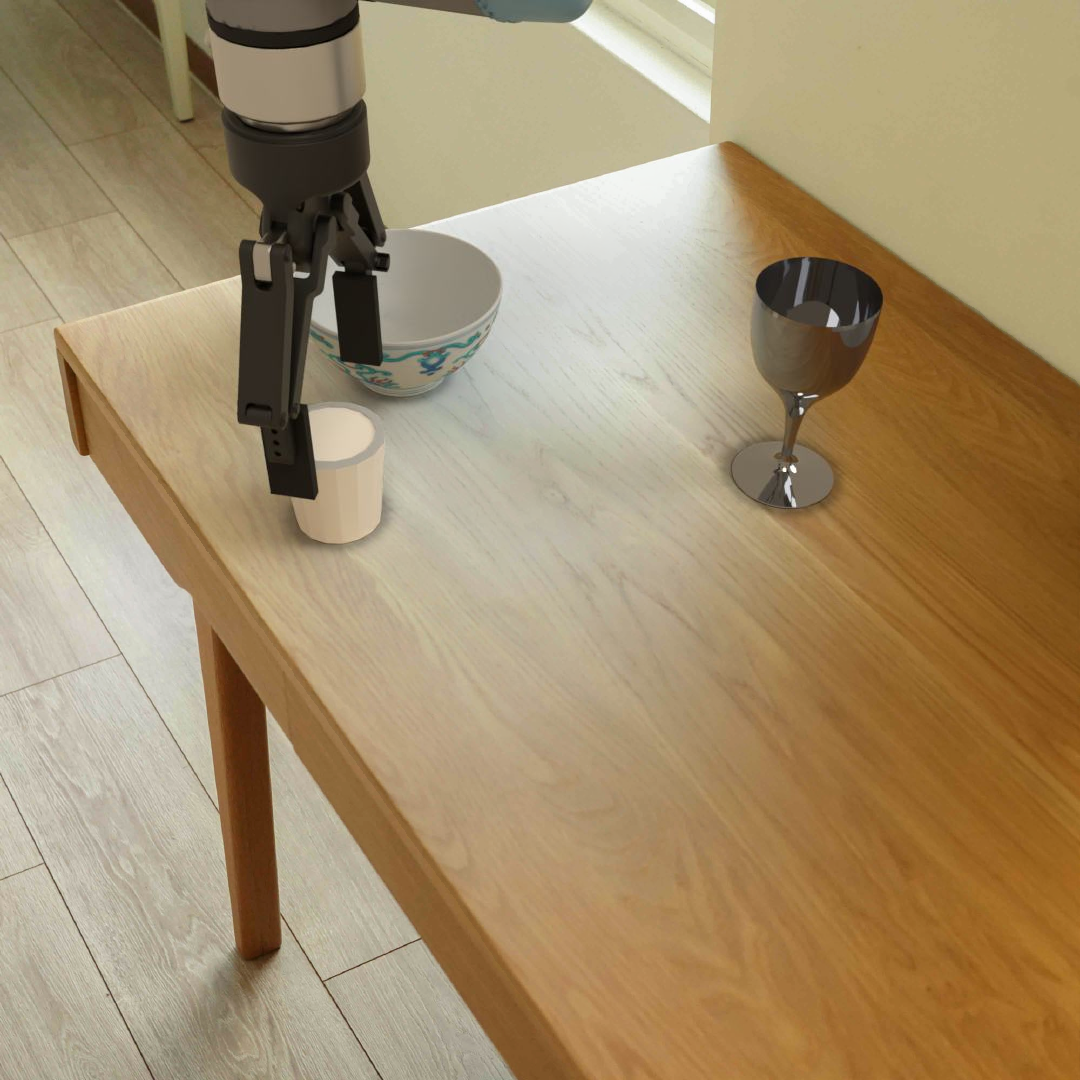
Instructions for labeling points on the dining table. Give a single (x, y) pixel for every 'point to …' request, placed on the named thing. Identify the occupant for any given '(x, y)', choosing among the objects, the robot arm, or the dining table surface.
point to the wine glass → (804, 366)
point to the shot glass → (344, 473)
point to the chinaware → (418, 311)
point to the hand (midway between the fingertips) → (330, 423)
